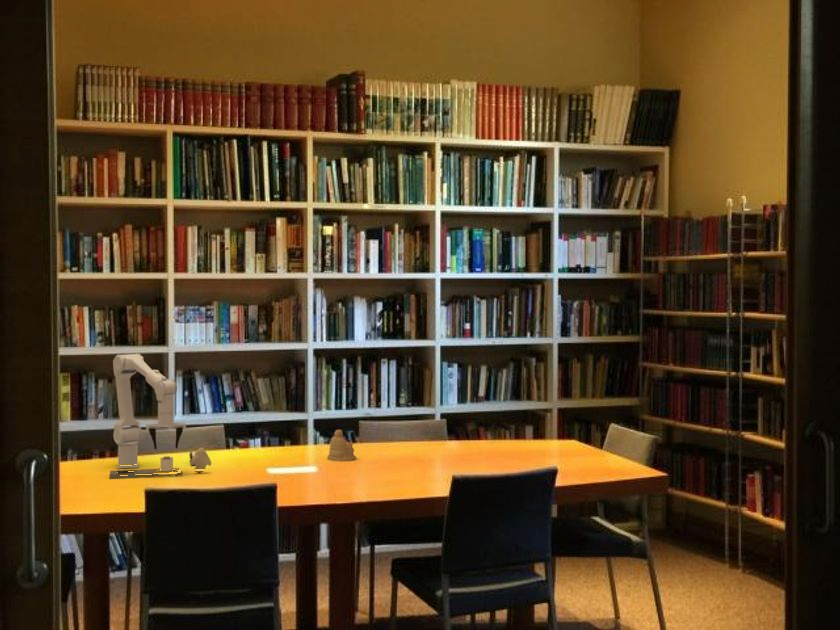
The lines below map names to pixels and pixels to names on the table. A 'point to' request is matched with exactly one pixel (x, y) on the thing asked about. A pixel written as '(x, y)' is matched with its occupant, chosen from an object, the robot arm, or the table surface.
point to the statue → (340, 448)
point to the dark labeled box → (191, 456)
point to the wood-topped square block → (167, 464)
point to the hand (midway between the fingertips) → (166, 448)
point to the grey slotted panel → (143, 471)
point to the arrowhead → (200, 459)
